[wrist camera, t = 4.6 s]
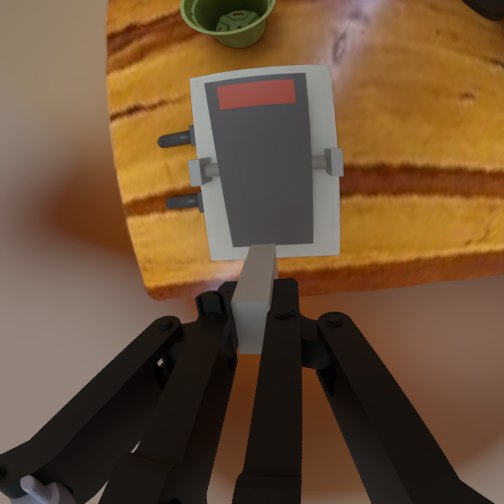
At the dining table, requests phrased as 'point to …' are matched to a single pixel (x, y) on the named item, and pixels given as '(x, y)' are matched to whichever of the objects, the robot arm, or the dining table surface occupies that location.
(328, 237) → the switch box
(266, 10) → the plant pot
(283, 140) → the rocker
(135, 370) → the robot arm
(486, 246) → the dining table surface
